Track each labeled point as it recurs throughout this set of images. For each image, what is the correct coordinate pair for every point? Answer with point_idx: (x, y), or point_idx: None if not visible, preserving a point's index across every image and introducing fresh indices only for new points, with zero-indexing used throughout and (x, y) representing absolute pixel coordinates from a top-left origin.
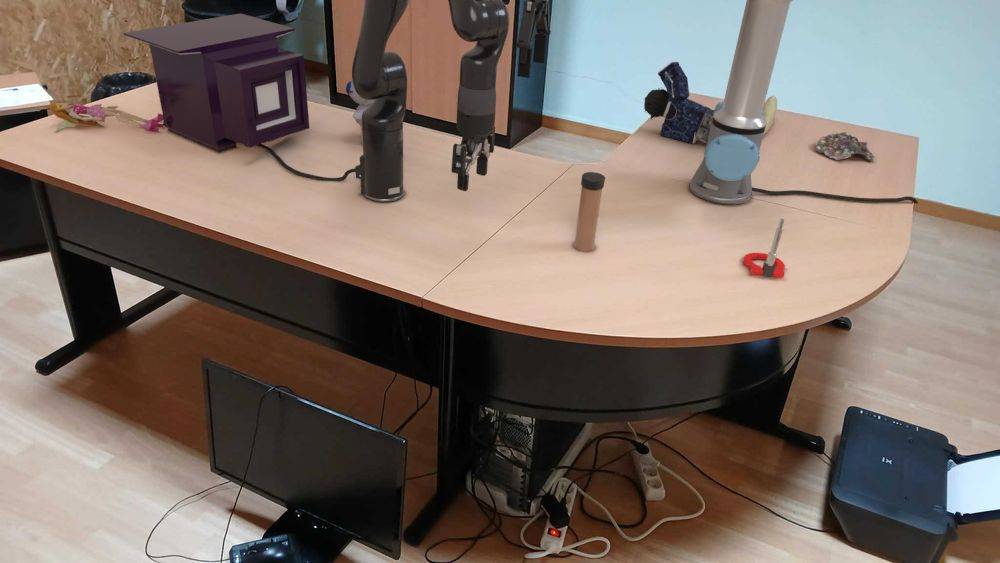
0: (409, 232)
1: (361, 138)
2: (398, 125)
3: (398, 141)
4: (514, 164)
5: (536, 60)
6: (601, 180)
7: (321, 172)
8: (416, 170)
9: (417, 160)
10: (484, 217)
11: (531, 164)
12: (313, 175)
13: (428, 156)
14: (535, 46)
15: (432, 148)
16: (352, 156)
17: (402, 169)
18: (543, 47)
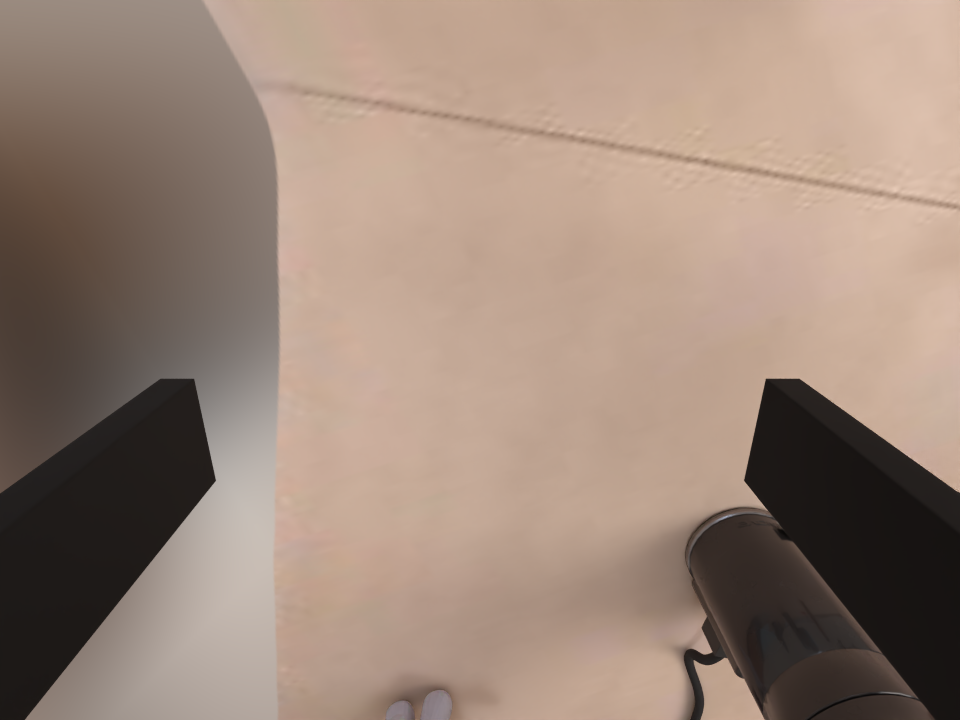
0: (948, 421)
1: (451, 710)
2: (914, 710)
3: (870, 652)
4: (376, 300)
5: (199, 460)
6: None
7: (655, 697)
8: (557, 536)
9: (489, 556)
10: (819, 267)
11: (344, 244)
12: (701, 704)
13: (447, 542)
14: (112, 588)
15: (385, 552)
16: (536, 682)
17: (780, 565)
18: (82, 493)
